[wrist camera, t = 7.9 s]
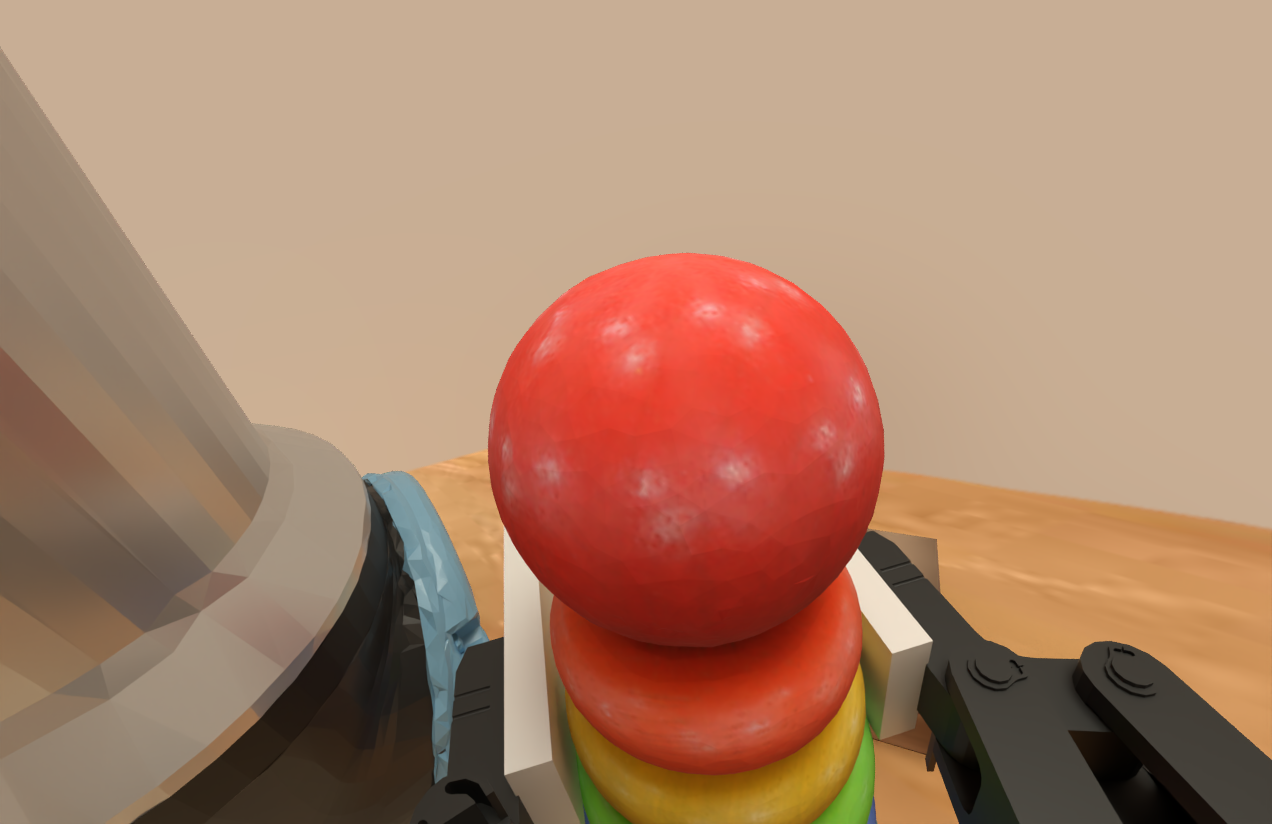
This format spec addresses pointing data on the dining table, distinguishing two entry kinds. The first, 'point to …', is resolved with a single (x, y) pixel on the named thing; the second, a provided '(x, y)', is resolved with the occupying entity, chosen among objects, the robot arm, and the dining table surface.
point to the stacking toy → (698, 539)
